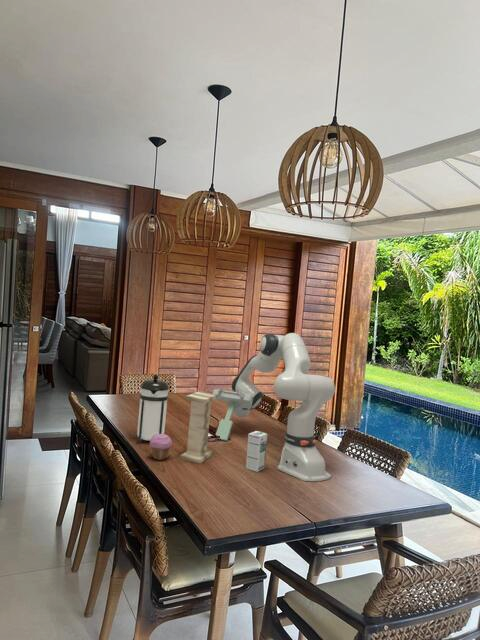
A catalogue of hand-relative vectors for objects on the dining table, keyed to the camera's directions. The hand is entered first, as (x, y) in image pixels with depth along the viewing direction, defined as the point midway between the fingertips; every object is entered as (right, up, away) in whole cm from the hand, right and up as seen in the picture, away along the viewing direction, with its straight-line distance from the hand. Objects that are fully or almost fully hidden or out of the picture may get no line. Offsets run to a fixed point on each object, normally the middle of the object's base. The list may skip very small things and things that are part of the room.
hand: (228, 391), depth 233 cm
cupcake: (-27, -22, -37) cm, 51 cm away
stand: (-13, -23, -31) cm, 41 cm away
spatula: (-1, -15, +3) cm, 15 cm away
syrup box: (+11, -26, -39) cm, 48 cm away
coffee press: (-36, -20, -14) cm, 43 cm away
